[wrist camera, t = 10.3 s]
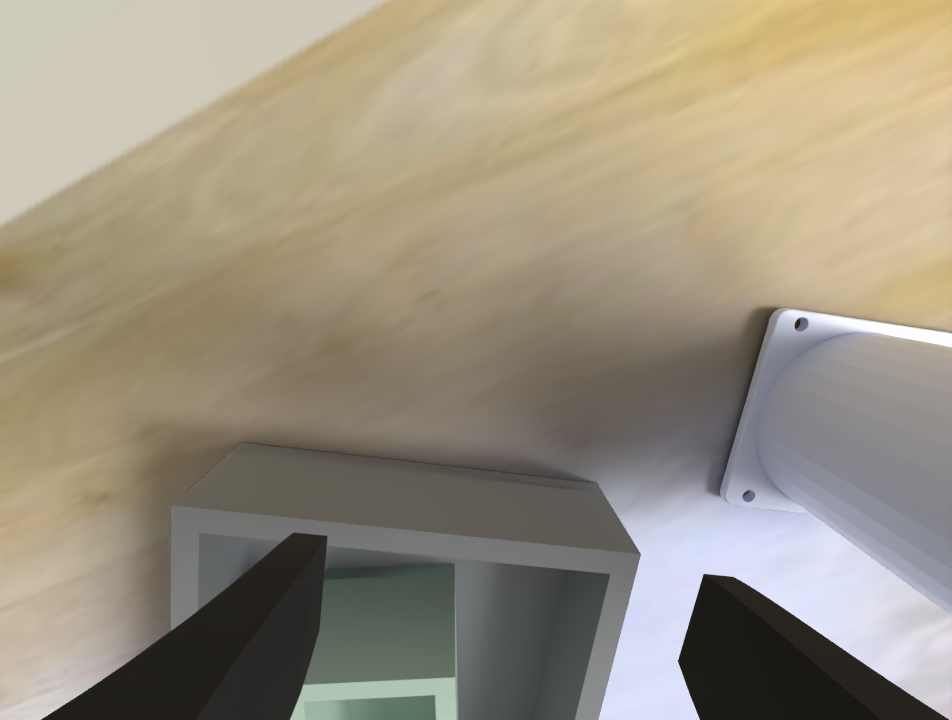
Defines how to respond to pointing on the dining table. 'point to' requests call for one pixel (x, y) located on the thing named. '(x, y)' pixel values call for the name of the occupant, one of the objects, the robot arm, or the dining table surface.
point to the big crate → (435, 560)
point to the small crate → (384, 646)
